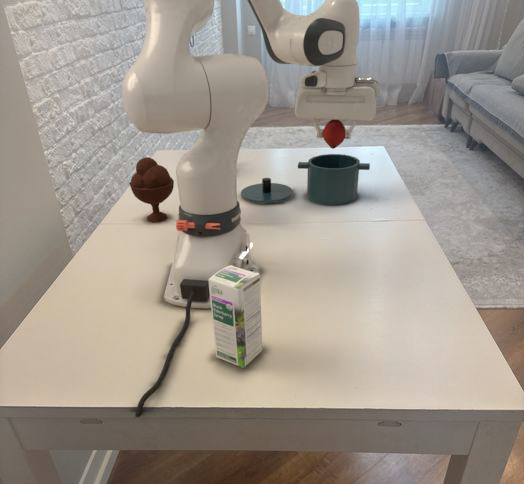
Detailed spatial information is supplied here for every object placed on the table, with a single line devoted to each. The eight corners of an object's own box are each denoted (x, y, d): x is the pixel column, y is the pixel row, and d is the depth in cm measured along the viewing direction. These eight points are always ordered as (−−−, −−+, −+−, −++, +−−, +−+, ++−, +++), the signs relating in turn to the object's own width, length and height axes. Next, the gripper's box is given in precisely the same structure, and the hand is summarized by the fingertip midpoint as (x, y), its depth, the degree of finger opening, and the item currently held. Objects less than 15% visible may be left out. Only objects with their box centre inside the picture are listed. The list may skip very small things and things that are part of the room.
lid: (289, 206, 132) (289, 188, 129) (236, 204, 134) (235, 187, 131) (295, 187, 143) (295, 171, 140) (246, 186, 145) (245, 170, 142)
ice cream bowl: (128, 225, 125) (116, 164, 115) (149, 209, 133) (139, 151, 124) (166, 229, 122) (156, 167, 113) (185, 212, 130) (177, 153, 121)
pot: (366, 206, 130) (370, 170, 124) (295, 204, 133) (295, 168, 127) (366, 189, 140) (369, 154, 135) (300, 187, 143) (300, 153, 137)
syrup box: (214, 357, 80) (205, 278, 71) (236, 339, 83) (230, 262, 75) (243, 369, 77) (237, 289, 68) (264, 350, 81) (261, 271, 72)
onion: (344, 145, 131) (347, 113, 126) (344, 151, 126) (346, 118, 122) (322, 145, 132) (324, 112, 127) (321, 151, 127) (323, 117, 122)
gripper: (381, 75, 119) (375, 135, 128) (298, 75, 123) (297, 133, 132) (380, 80, 114) (373, 142, 123) (294, 79, 119) (293, 139, 127)
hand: (333, 137), depth 127 cm, fingers closed on onion, 6 cm apart
